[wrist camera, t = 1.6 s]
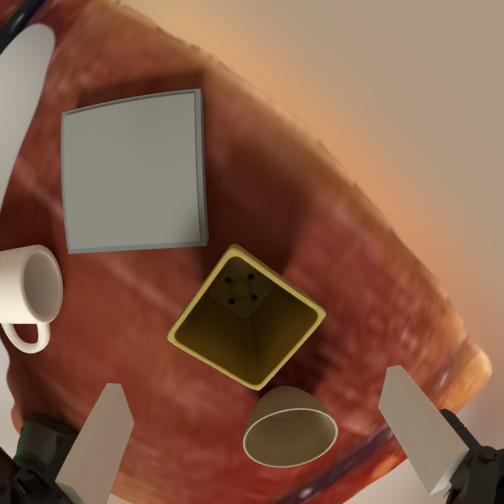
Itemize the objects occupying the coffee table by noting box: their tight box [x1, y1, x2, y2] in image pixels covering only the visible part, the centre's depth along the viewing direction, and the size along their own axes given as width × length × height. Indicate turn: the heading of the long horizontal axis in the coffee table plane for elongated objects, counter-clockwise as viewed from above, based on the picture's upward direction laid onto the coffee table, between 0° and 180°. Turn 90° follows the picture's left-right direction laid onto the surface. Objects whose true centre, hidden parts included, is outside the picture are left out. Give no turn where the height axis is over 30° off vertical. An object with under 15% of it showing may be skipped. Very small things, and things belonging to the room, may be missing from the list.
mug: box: [0, 245, 63, 353], centre depth 25 cm, size 12×10×8 cm
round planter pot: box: [243, 386, 338, 467], centre depth 30 cm, size 10×10×7 cm
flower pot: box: [168, 244, 326, 390], centre depth 26 cm, size 9×9×9 cm
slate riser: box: [61, 89, 209, 254], centre depth 26 cm, size 14×14×3 cm
